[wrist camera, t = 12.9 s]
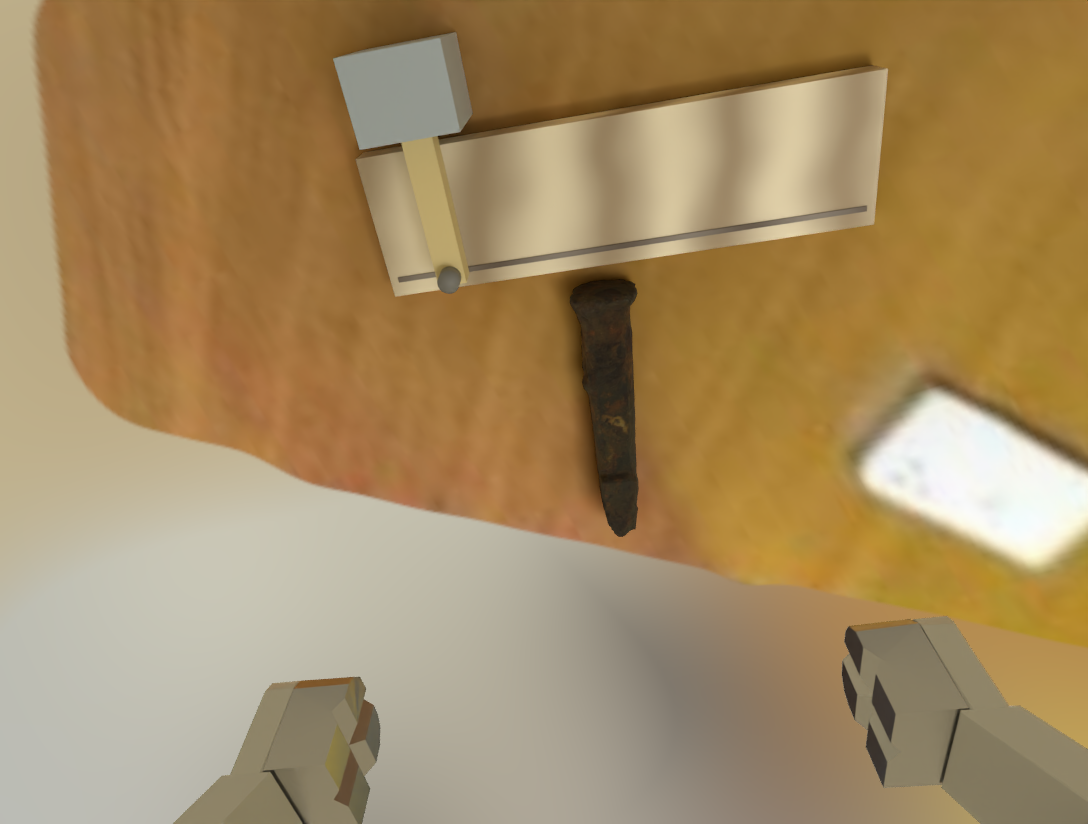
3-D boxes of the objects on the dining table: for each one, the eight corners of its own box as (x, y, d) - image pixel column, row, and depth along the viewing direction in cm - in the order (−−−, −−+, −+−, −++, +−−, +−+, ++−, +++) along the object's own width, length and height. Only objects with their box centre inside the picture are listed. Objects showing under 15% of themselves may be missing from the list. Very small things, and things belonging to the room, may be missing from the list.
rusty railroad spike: (569, 276, 43) (570, 305, 39) (633, 272, 43) (641, 301, 39) (582, 510, 53) (584, 552, 49) (634, 508, 52) (641, 550, 48)
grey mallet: (456, 31, 36) (440, 37, 30) (501, 254, 42) (494, 290, 37) (364, 49, 36) (332, 58, 31) (422, 267, 42) (404, 304, 37)
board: (872, 65, 36) (888, 68, 34) (860, 214, 40) (874, 224, 38) (364, 152, 39) (354, 159, 37) (401, 284, 43) (394, 297, 41)
